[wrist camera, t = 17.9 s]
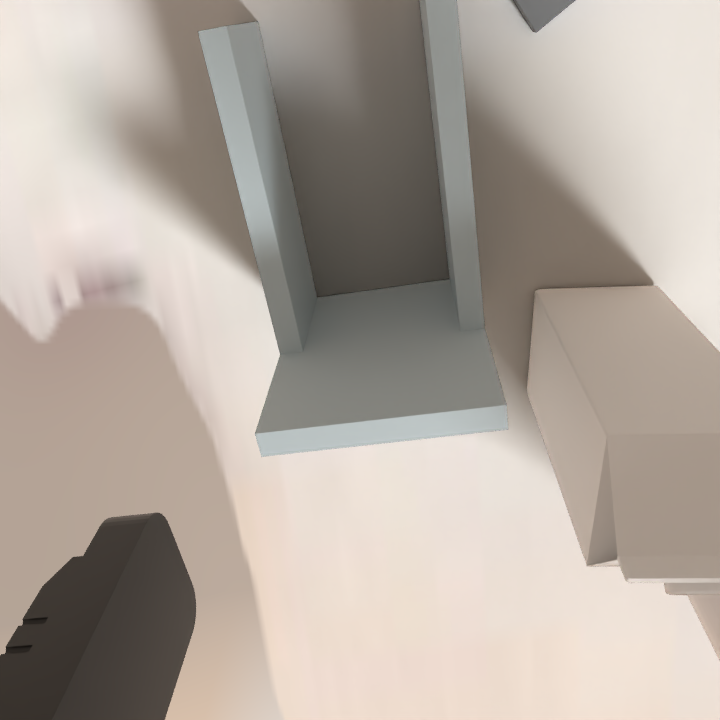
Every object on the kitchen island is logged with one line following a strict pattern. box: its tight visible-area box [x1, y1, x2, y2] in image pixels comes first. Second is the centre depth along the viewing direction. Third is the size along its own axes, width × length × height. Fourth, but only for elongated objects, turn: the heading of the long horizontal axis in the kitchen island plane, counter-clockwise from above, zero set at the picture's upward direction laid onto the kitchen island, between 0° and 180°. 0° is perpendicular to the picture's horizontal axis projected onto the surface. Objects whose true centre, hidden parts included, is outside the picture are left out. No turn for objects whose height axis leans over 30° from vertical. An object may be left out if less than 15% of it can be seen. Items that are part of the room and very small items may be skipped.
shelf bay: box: [198, 0, 508, 457], centre depth 30 cm, size 16×10×14 cm, turn 10°
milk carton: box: [527, 286, 720, 595], centre depth 32 cm, size 7×7×19 cm
